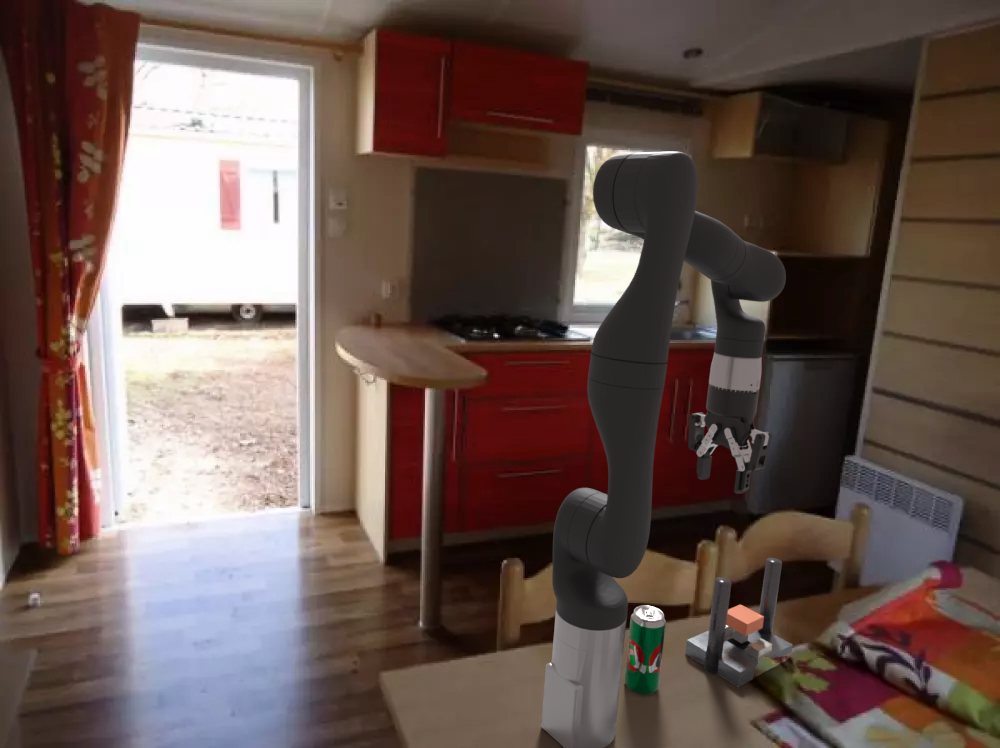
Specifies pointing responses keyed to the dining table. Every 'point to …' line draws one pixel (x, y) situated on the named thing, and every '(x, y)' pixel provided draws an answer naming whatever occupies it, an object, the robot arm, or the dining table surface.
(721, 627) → the twin post stand
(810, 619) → the dining table surface
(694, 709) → the dining table surface
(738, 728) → the dining table surface
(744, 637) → the button
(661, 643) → the soda can
